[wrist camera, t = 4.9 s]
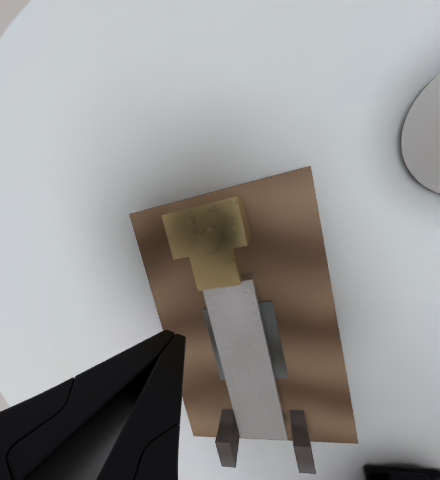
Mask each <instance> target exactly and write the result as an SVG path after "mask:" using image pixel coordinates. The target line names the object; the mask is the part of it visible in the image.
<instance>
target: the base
mask: <svg viewBox="0 0 440 480" xmlns="http://www.w3.org/2000/svg"><path fill="white" fill-rule="evenodd" d="M236 196H237V197H243V201H244V205H245V210H246V214H247V219H248V224H249V228H250V233H251V239H250V241H249V243H248V246H243V247H238V248H235V252H236V257H237V261H238V265H239V270H240V274H241V276H245V275H251V274H253V276H254V280H255V285H256V289H257V294H258V298H259V303H260V307H261V312H262V317H263V321H264V326H265V330H266V335H267V339H268V344H269V348H270V353H271V357H272V362H273V366H274V371H275V375H276V380H277V384H278V389H279V393H280V398H281V402H282V407H283V412H284V416H285V421H286V425H287V436H288V440H291V441H293V446H294V451H295V455H296V460H297V464H298V469H299V473H309V474H316V471H315V465H314V460H313V455H312V449H311V444H310V441H313V442H334V443H356V444H358V439H357V433H356V427H355V422H354V416H353V410H352V404H351V398H350V392H349V387H348V381H347V375H346V369H345V363H344V358H343V352H342V346H341V340H340V334H339V328H338V323H337V317H336V311H335V305H334V299H333V293H332V288H331V282H330V276H329V270H328V264H327V259H326V253H325V247H324V241H323V235H322V229H321V224H320V218H319V212H318V206H317V200H316V195H315V189H314V183H313V177H312V171H311V166H308V167H304V168H301V169H297V170H293V171H289V172H286V173H282V174H278V175H274V176H271V177H267V178H263V179H259V180H256V181H252V182H248V183H244V184H241V185H237V186H233V187H229V188H226V189H222V190H218V191H214V192H211V193H207V194H203V195H199V196H196V197H192V198H188V199H184V200H181V201H177V202H173V203H169V204H166V205H162V206H158V207H154V208H151V209H147V210H143V211H139V212H136V213H132V214H129V215H130V218H131V222H132V225H133V229H134V232H135V236H136V239H137V242H138V246H139V249H140V253H141V256H142V260H143V263H144V267H145V270H146V273H147V277H148V280H149V284H150V287H151V291H152V294H153V297H154V301H155V304H156V308H157V311H158V315H159V318H160V322H161V325H162V328H163V331H164V330H170V331H173V332H175V333H176V334H181V335H183V336H185V337H186V347H185V361H184V375H183V389H182V397H183V401H184V404H185V408H186V411H187V415H188V418H189V421H190V425H191V428H192V432H193V435H194V436H203V437H216V441H215V443H216V447H217V451H218V454H219V458H220V461H221V465H222V466H223V467H236V461H237V452H238V444H239V438H240V434H239V431H238V427H237V423H236V419H235V415H234V411H233V407H232V403H231V399H230V395H229V392H228V388H227V384H226V380H225V376H224V372H223V368H222V364H221V360H220V356H219V352H218V349H217V345H216V341H215V337H214V333H213V329H212V325H211V321H210V317H209V313H208V310H207V306H206V302H205V298H204V294H203V290H202V291H198V289H197V286H196V282H195V278H194V274H193V270H192V266H191V263H190V259H189V257H185V258H180V259H174V260H173V256H172V253H171V249H170V245H169V242H168V238H167V234H166V230H165V227H164V223H163V219H162V216H161V215H165V214H169V213H173V212H177V211H181V210H185V209H189V208H193V207H196V206H200V205H204V204H208V203H212V202H216V201H220V200H224V199H228V198H232V197H236ZM247 439H250V438H247ZM269 440H272V439H269Z"/></svg>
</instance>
